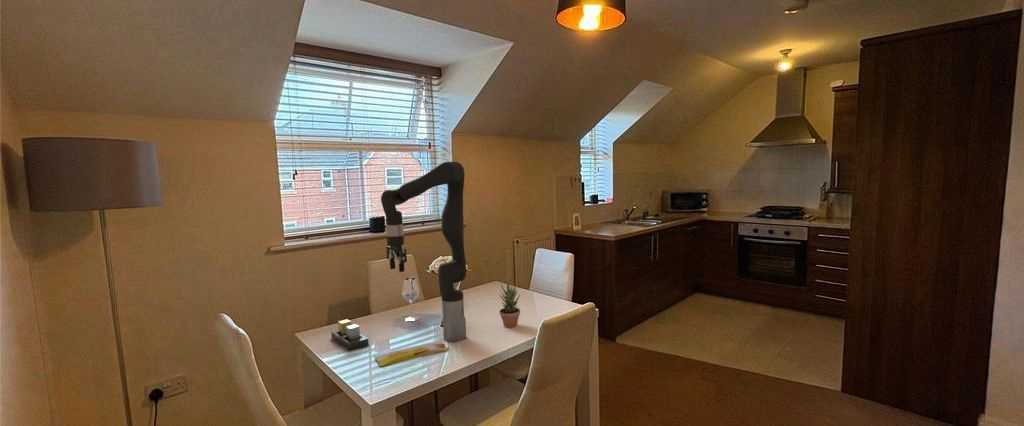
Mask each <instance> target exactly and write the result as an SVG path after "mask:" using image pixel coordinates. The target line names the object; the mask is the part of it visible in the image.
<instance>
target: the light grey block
mask: <svg viewBox="0 0 1024 426" xmlns="http://www.w3.org/2000/svg"><path fill="white" fill-rule="evenodd" d="M360 329H361V328H360V326H359V325H358V324H356V323H354V324H351V325H350V326H346V332H347V341H349V342H350V341H354V340H357V339H360V334H361V333H360Z"/></svg>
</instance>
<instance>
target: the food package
mask: <svg viewBox="0 0 1024 426" xmlns="http://www.w3.org/2000/svg"><path fill="white" fill-rule="evenodd" d="M448 350H450V348H449V347H447V345H446V344H444V342H442V341H434V342H428V343H422V344H419V345H415V346H410V347H406V348H400V349H397V350H393V351H389V352H387V353H382V354H379V355H376V356H374V359H375V360H376V362H377V364H378V365H379V367H382V366H383V367H384V366H390V365H392V364H397V363H400V362H404V361H408V360H412V359H416V358H420V357H425V356H428V355H429V356H430V355H434V354H438V353H442V352H445V351H448Z"/></svg>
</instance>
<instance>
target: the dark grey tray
mask: <svg viewBox="0 0 1024 426" xmlns="http://www.w3.org/2000/svg"><path fill="white" fill-rule="evenodd" d="M330 335H331V339H332V338H333V339H334V340H333V339H332V340H333V341H335V342H336V341H337V342H336V343H338V344H339V345H341V346H342V347H343V348H344V349H346V350H347V351H349V352H351V351H355V350H358V349H362V348H366V347H367V346H369V342H370V341H369V338H368V337H366V336H365V335H363V334H362V333H360V339H357V340H354V341H350V342H349V341H347V335H343V336H340V335H339V329H337V330H336V329H335V330H333V331H331V332H330Z"/></svg>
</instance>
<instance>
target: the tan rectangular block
mask: <svg viewBox="0 0 1024 426" xmlns="http://www.w3.org/2000/svg"><path fill="white" fill-rule="evenodd" d="M350 325H352V322H351V320H349V319H343V320H338V321H337V326H338V330H339V335H340V336H343V335H347V332H346V326H350Z"/></svg>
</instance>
